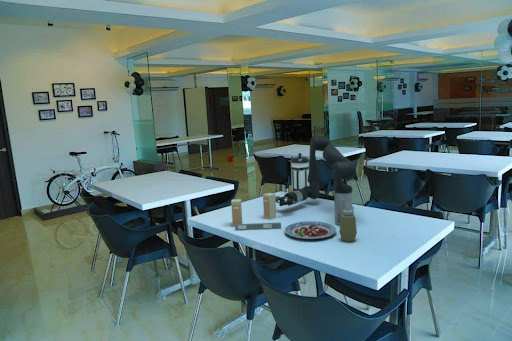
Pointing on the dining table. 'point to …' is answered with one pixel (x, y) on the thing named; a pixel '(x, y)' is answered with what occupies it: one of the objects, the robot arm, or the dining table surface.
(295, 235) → the ceramic plate
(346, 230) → the squeeze bottle
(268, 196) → the carton
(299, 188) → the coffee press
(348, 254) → the dining table surface
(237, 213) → the faced carton
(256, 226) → the rail
